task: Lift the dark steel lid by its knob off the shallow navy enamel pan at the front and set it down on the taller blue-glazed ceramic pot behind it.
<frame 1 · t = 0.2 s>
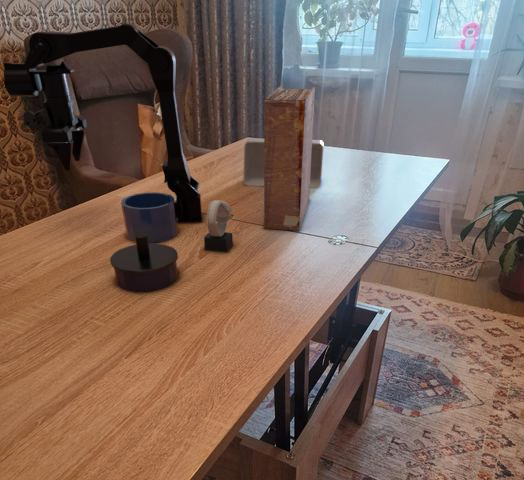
hand: (72, 165, 121), 15 cm above the table, tool pointing down, fingers open, 9 cm apart
white rounded tray: (283, 180, 161), on the table
lid: (144, 258, 100), point 4 cm above the table, touching pan
pan: (147, 277, 102), on the table
pot: (152, 233, 122), on the table
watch: (219, 248, 115), on the table
book: (288, 214, 134), on the table
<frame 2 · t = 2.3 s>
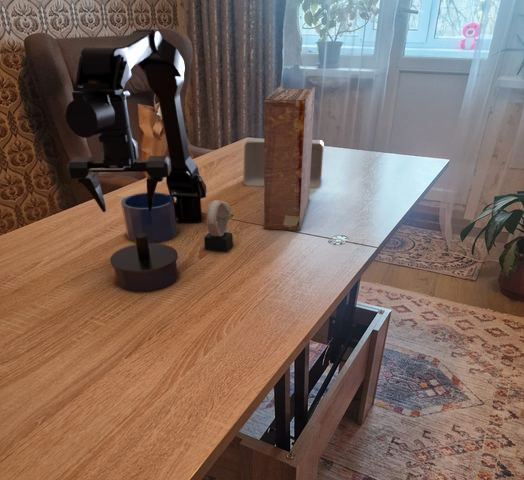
hand: (127, 211, 97), 13 cm above the table, tool pointing down, fingers open, 9 cm apart
nothing on the table moved.
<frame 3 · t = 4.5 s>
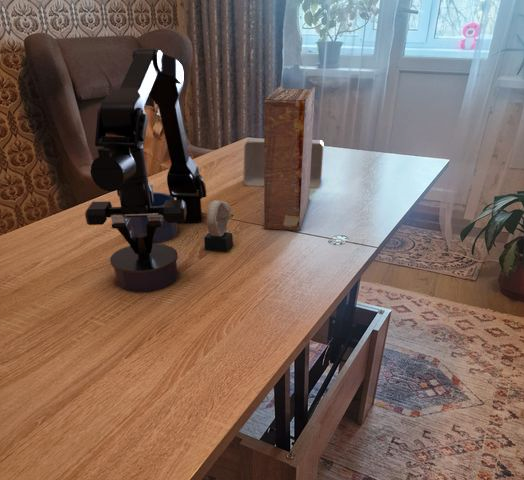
hand: (143, 252, 99), 6 cm above the table, tool pointing down, fingers closed on lid, 2 cm apart
lid: (144, 258, 100), point 4 cm above the table, touching gripper, pan
everything else where it was.
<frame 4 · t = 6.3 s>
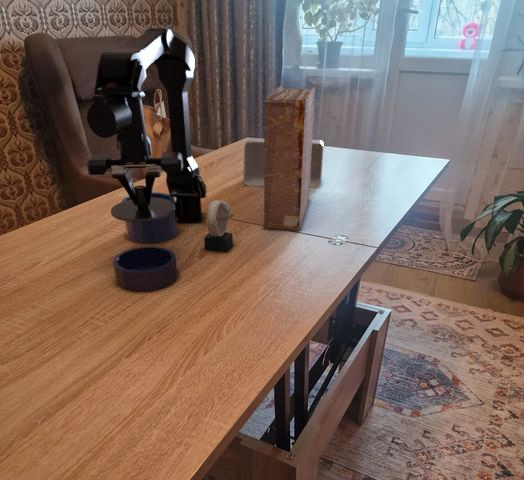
hand: (142, 204, 104), 12 cm above the table, tool pointing down, fingers closed on lid, 2 cm apart
lid: (143, 210, 105), point 11 cm above the table, touching gripper
everything else where it was.
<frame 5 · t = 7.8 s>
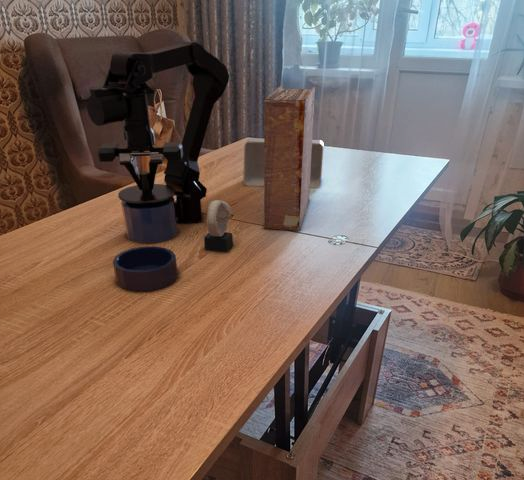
hand: (146, 189, 116), 11 cm above the table, tool pointing down, fingers closed on lid, 2 cm apart
lid: (147, 194, 117), point 10 cm above the table, touching gripper
everything else where it was.
when the fingers open (10 cm above the table, at t = 8.5 s): lid stays where it is, resting on pot.
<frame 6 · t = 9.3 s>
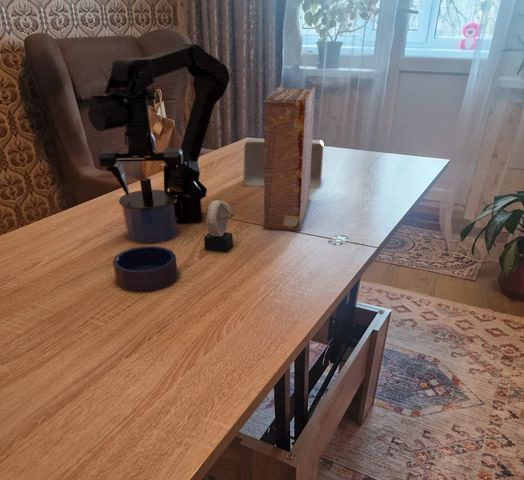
hand: (147, 194, 117), 10 cm above the table, tool pointing down, fingers open, 9 cm apart
lid: (148, 200, 118), point 8 cm above the table, touching pot
everything else where it was.
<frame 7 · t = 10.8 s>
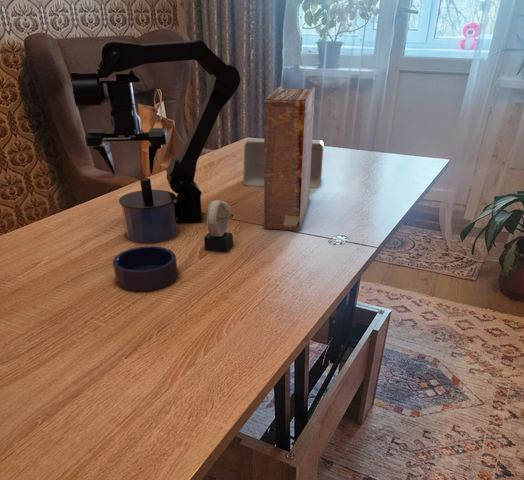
hand: (133, 173, 120), 13 cm above the table, tool pointing down, fingers open, 9 cm apart
nothing on the table moved.
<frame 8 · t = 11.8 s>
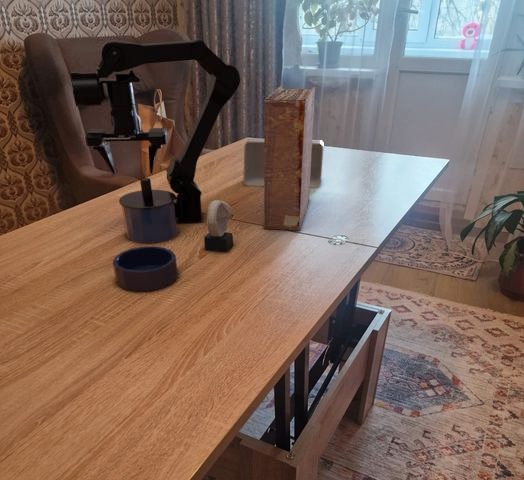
hand: (133, 173, 120), 13 cm above the table, tool pointing down, fingers open, 9 cm apart
nothing on the table moved.
at the end: lid 0.0 cm off-centre on the pot, point 8.5 cm above the pot's base; lid tilted 0°; lid moved 25.4 cm from its start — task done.
